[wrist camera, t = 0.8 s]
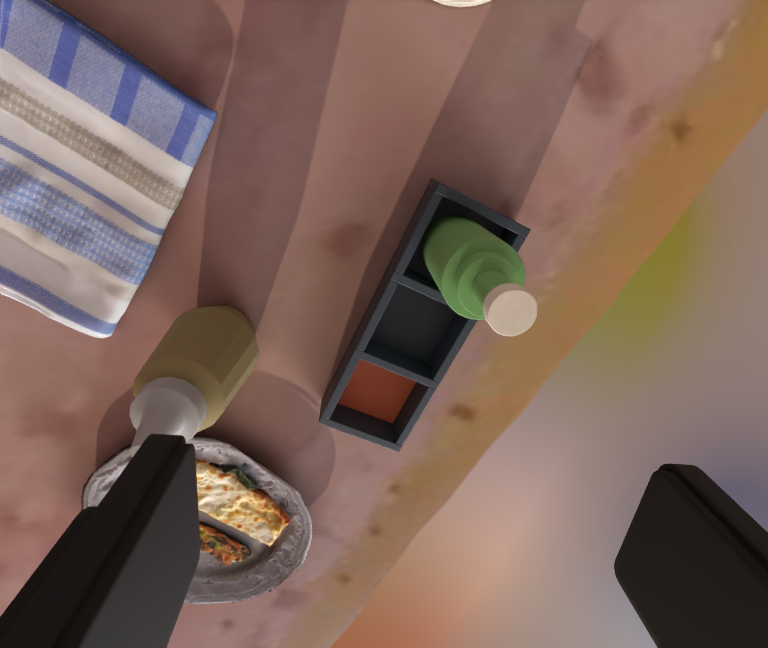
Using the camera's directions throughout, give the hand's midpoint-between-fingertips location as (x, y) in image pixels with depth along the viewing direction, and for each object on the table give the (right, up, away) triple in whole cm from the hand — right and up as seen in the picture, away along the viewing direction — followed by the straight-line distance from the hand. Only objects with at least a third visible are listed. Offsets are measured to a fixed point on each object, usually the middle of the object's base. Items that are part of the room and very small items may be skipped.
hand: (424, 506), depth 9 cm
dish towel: (-27, +16, +28) cm, 42 cm away
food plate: (-22, -18, +42) cm, 51 cm away
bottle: (+5, +11, +31) cm, 34 cm away
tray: (+2, +4, +34) cm, 35 cm away
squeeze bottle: (-16, +3, +34) cm, 38 cm away
